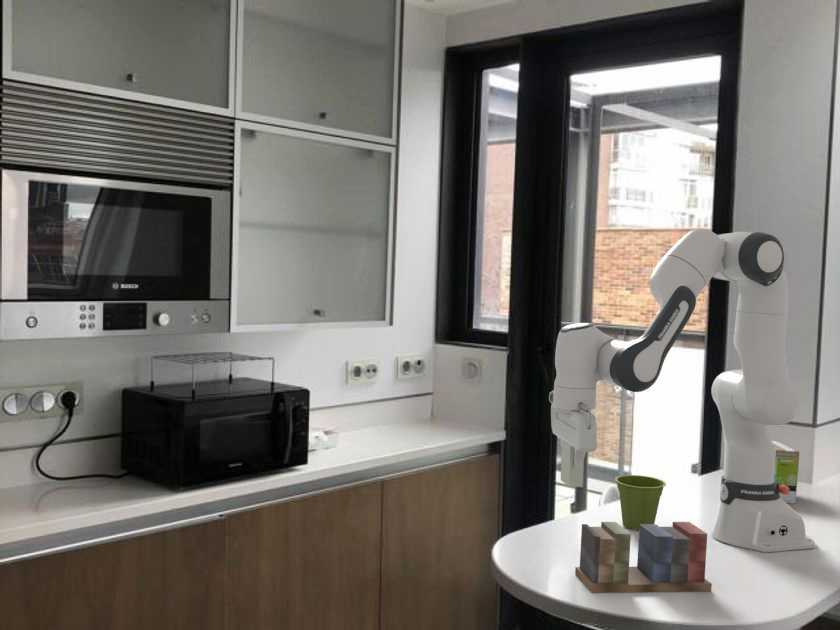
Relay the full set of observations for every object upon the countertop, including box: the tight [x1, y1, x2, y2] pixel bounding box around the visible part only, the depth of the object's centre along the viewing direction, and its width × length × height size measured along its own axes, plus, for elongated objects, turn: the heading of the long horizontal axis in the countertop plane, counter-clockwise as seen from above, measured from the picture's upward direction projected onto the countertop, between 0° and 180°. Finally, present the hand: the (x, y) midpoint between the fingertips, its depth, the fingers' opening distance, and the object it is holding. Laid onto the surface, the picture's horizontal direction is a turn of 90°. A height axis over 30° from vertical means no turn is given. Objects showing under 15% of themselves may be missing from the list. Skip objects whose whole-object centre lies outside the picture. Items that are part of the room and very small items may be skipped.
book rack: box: [574, 521, 713, 594], centre depth 174 cm, size 24×10×11 cm, turn 98°
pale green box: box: [560, 440, 585, 488], centre depth 189 cm, size 3×6×9 cm, turn 8°
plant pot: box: [614, 474, 667, 532], centre depth 213 cm, size 12×12×11 cm
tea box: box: [771, 440, 800, 504], centre depth 249 cm, size 15×10×15 cm, turn 179°
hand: (572, 464), depth 189 cm, fingers closed on pale green box, 6 cm apart
